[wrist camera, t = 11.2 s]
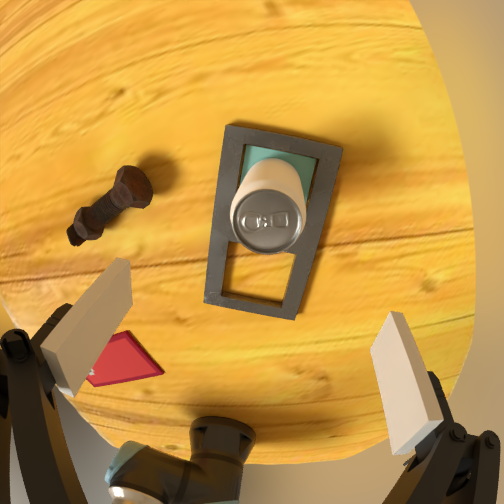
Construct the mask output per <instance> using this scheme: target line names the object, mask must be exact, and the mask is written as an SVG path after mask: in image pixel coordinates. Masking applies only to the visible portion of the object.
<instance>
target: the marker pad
mask: <svg viewBox="0 0 504 504" xmlns="http://www.w3.org/2000/svg"><path fill="white" fill-rule="evenodd" d="M268 158H277V159H281V160H284V161H286V162H288V163H289V164H291V165H292V166H293V167H294V168H295V170H296V171H297V173H298V175H299V177H300V180H301V185H302V190H303V195H304V200H305V206H306V202H307V197H308V193H309V189H310V185H311V181H312V176H313V172H314V168H315V163H316V158H311V157H307V156H302V155H298V154H293V153H288V152H283V151H278V150H273V149H268V148H263V147H257V146H251V145H246V150H245V156H244V162H243V168H242V174H241V181H240V185H241V183H242V181H243V180H244V178H245V176H246V174H247V173H248V171H249V170H250V168H251V167H252V166H253V165H254V164H256V163H257V162H259V161H261V160H264V159H268Z"/></svg>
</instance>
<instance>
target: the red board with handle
mask: <svg viewBox="0 0 504 504" xmlns="http://www.w3.org/2000/svg"><path fill="white" fill-rule="evenodd" d="M163 374H164V372H163V371H162V370H161V369H160V368H159V366H158V365H157V364H156V363H155V362H154V361H153V360H152V359H151V358H150V357H149V355H148V354H147V353H146V352H145V351H144V350H143V349H142V348H141V346H140V345H139V344H138V343H137V342H136V341H135V339H134V338H133V337H132V336H131V335H130V334H129V332H128V331H127V330H126V331H123V332H120V333H117V334H114V335H112V337H111V338H110V340H109V342H108V343H107V345H106V346H105V348H104V349H103V351H102V353H101V354H100V356H99V358H98V359H97V361H96V362H95V364H94V366H93V367H92V369H91V371H90V372H89V374H88V376H87V377H86V380H88V381H89V382H90V383H91V384H92V385H93V386H94V387H99V386H105V385H111V384H117V383H123V382H128V381H134V380H139V379H144V378H149V377H154V376H158V375H163Z"/></svg>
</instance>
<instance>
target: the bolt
mask: <svg viewBox="0 0 504 504" xmlns="http://www.w3.org/2000/svg"><path fill="white" fill-rule="evenodd" d="M152 196H153V191H152V187H151V184H150V182H149V180H148V179H147V177H146V176H145V174H144V173H143V172H142V171H141V170H139V169H138V168H137V167H135V166H129V165H127V166H122V167H121V168H120V169H119V170H118V171H117V175H116V178H115V182H114V186H113V188H112V189H111V190H109V191H108V192H107V193H106V194H105V195H104V196H103V197H101V198H100V199H99V200H98V201H97V202H96V203H95V204H94V205H93V206H91V207H81V208H80V209H79V210H78V211H77V213H76V215H75V218H74V222H73V224H72V225H71V226H70V227H69V228H68V229H67V231H66V232H67V236H68V239H69V241H70V244H71V245H73V246H75V245H77V246H80V245H81V244H82V243H83V242H85V241H86V240H96V239H98V238H99V237H101V236H102V233H103V231H104V226H105V225H106V224H107V223H108V222H109V221H111V220H112V219H113V218H114V217H116V216H117V215H118V214H120V213H121V212H122V211H124V210H125V209H126V208H129V207H135V208H142V209H144V208H145V207H147V206H148V205H149V204H150V202H151V200H152Z"/></svg>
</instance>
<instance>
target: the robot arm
mask: <svg viewBox="0 0 504 504" xmlns="http://www.w3.org/2000/svg"><path fill="white" fill-rule="evenodd" d="M132 305H133V301H132V287H131V270H130V261H129V260H125V259H121V258H116V259H115V260H114V261H113V262H112V263H111V264H110V265H109V266H108V267H107V269H106V270H105V271H104V272H103V273H102V274H101V275H100V276H99V277H98V278H97V279H96V280H95V282H94V283H93V284H92V285H91V286H90V287H89V288H88V289H87V290H86V292H85V293H84V294H83V295H82V296H81V297H80V298H79V300H78V301H77V302H76V303H75V304H74V305H71V304H68V303H66V304H64V305H62V306H61V307H59V308H57V309H56V310H55V312H54V313H53V314H52V315H51V317H49V318H48V320H47V321H46V323H44V324H43V325H42V327H41V328H40V329H39V330H38V331H37V333H36V334H35V335H34V336H33V337H32V339H31V340H30V339H29V336H28V334H27V333H26V332H25V331H24V330H22V329H12V330H9V331H7V332H6V333H5V334H4V335H3V336H2V337H1V339H0V345H1V347H2V349H3V350H1V349H0V504H11V502H10V477H9V475H10V474H9V472H10V469H9V468H10V440H11V426H12V427H13V433H14V440H15V445H16V451H17V455H18V460H19V465H20V469H21V473H22V477H23V481H24V485H25V488H26V492H27V495H28V499H29V502H30V504H88V502H87V500H86V497H85V495H84V492H83V490H82V488H81V485H80V482H79V480H78V477H77V474H76V472H75V469H74V466H73V463H72V460H71V457H70V454H69V451H68V447H67V444H66V440H65V437H64V433H63V430H62V426H61V422H60V418H59V414H58V410H57V405H56V401H55V396H54V393H53V390H52V388H53V387H54V385H55V384H57V386H58V388H59V390H60V391H61V392H63V393H65V394H67V395H69V396H71V397H74V398H75V396H76V394H77V393H78V391H79V389H80V387H81V386H82V384H83V382H84V381H85V379H86V377H87V376H88V374H89V372H90V371H91V369H92V367H93V366H94V364H95V362H96V361H97V359H98V358H99V356H100V354H101V353H102V351H103V349H104V348H105V346H106V345H107V343H108V342H109V340H110V338H111V337H112V335H113V334H114V332H115V331H116V329H117V328H118V326H119V324H120V323H121V321H122V320H123V318H124V317H125V315H126V314H127V312H128V311H129V309H130V308H131V306H132ZM370 352H371V356H372V360H373V364H374V368H375V372H376V377H377V381H378V385H379V390H380V394H381V399H382V403H383V408H384V413H385V417H386V422H387V428H388V433H389V438H390V444H391V449H392V455H399V454H407V453H409V452H410V451H411V450H412V449H413V448H414V447H415V451H416V454H415V455H413V456H412V457H411V458H410V459H409V460H407V461H406V462H405V463H404V464H403V465H404V466H405V465H407V464H408V465H407V467H406V468H405V470H404V472H403V473H402V475H401V476H400V478H399V480H398V481H397V483H396V484H395V486H394V487H393V489H392V490H391V492H390V493H389V495H388V496H387V498H386V499H385V500H384V502H383V503H382V504H496V499H497V490H498V481H499V466H500V440H499V438H498V436H497V435H496V434H495V433H494V432H493V431H490V430H487V431H484V432H483V433H482V434H481V435H480V436H474V435H470V434H467V431H466V430H465V428H464V427H463V426H462V425H460V424H458V423H454V420H453V417H452V415H451V411H450V409H449V406H448V403H447V400H446V397H444V396H445V395H444V392H443V390H442V387H441V384H440V381H439V379H438V378H437V377H436V375H435V374H434V373H433V372H432V371H427V370H426V368H425V365H424V362H423V360H422V357H421V355H420V352H419V350H418V348H417V345H416V343H415V340H414V338H413V336H412V333H411V331H410V329H409V326H408V324H407V322H406V319H405V317H404V315H403V313H400V312H393V311H390V312H389V314H388V316H387V318H386V320H385V322H384V324H383V326H382V328H381V330H380V332H379V334H378V336H377V337H376V339H375V341H374V343H373V345H372V347H371V348H370ZM189 436H190V445H191V458H190V461H187V460H184V459H181V458H178V457H175V456H173V455H170V454H167V453H164V452H162V451H159V450H156V449H154V448H151V447H150V446H148V445H143V444H140V443H138V442H135V441H127V442H126V443H124V444H123V445H122V446H121V448H120V449H119V450H118V452H117V453H116V455H115V457H114V458H113V460H112V462H111V465H110V467H109V469H108V471H107V473H106V476H105V481H106V482H107V483H108V484H110V487H109V489H108V491H109V493H110V495H111V497H112V498H113V502H112V504H239V495H240V488H241V480H242V473H243V466H244V463H245V461H246V459H247V458H248V456H249V454H250V452H251V450H252V448H253V447H254V444H255V433H254V431H253V430H252V429H251V428H250V427H248V426H247V425H245V424H243V423H241V422H238V421H235V420H232V419H228V418H223V417H202V418H198V419H196V420H194V421H193V422H192V424H191V428H190V431H189ZM470 473H471V474H470Z"/></svg>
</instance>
